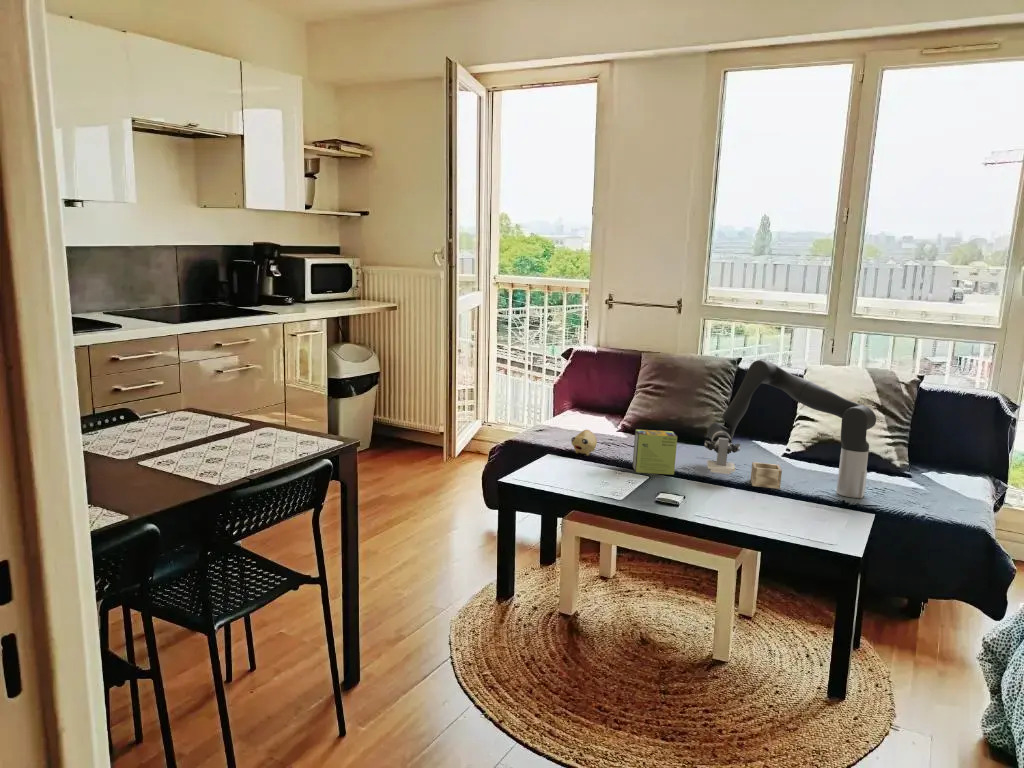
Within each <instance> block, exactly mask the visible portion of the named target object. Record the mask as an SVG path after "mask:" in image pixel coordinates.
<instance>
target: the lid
mask: <svg viewBox="0 0 1024 768" xmlns="http://www.w3.org/2000/svg"><path fill="white" fill-rule="evenodd" d="M728 442H729V439H728V438H719V441H718V447H719V449H718V453H716V460H711V459H710V460H709V459H707V462H706V464H707V469H708V470H709V469H710V473H716V474H724V475H725V474H726V475H732V472H736V466H735V463H734V462H728V461H727V460H728V454H727V451H728Z"/></svg>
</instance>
